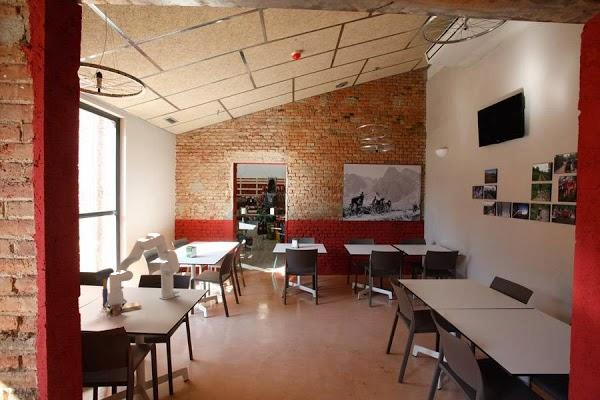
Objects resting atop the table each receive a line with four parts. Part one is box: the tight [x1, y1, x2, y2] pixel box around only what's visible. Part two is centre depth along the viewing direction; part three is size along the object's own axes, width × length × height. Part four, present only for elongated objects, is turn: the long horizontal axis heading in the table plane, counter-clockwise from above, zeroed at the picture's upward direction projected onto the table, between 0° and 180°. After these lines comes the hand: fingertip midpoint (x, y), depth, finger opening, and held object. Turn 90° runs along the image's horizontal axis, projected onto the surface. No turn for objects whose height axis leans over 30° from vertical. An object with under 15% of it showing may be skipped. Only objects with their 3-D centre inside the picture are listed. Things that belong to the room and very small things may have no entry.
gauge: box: [112, 304, 122, 317], centre depth 243 cm, size 5×14×8 cm, turn 36°
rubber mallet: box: [94, 267, 115, 308], centre depth 255 cm, size 12×8×30 cm, turn 167°
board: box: [105, 301, 142, 316], centre depth 249 cm, size 23×10×3 cm, turn 126°
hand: (116, 313), depth 239 cm, fingers closed on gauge, 5 cm apart
